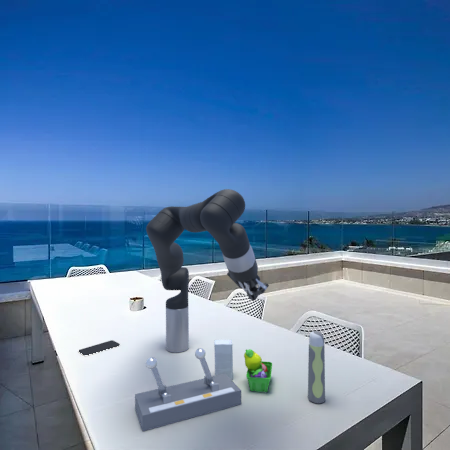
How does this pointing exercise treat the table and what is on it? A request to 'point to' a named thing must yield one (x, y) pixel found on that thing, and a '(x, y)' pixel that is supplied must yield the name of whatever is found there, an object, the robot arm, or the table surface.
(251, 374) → the fruit basket
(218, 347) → the skincare box
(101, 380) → the table surface
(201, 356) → the switch far
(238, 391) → the switch console
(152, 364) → the switch near
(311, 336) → the camo grip handle
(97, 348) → the phone
